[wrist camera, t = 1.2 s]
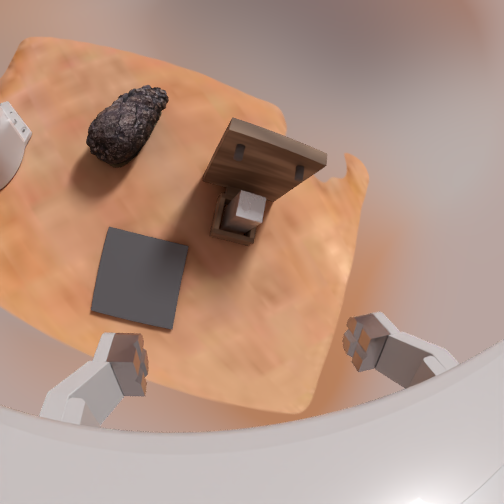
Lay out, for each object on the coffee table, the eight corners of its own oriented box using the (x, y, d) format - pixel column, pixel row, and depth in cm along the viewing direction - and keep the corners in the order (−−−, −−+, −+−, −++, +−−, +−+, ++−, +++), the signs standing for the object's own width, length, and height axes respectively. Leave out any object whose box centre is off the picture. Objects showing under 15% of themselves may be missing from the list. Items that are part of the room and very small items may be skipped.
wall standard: (265, 250, 51) (320, 231, 34) (190, 231, 47) (210, 199, 30) (275, 192, 53) (327, 153, 36) (205, 171, 49) (232, 117, 32)
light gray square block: (241, 235, 50) (261, 222, 40) (219, 229, 49) (235, 215, 39) (245, 214, 51) (266, 197, 41) (224, 208, 49) (241, 190, 40)
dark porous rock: (173, 107, 48) (180, 75, 39) (129, 180, 44) (125, 155, 35) (130, 91, 46) (130, 59, 36) (83, 160, 41) (70, 133, 32)
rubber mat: (92, 309, 39) (91, 310, 39) (109, 227, 42) (109, 226, 41) (172, 328, 44) (172, 329, 43) (188, 246, 46) (188, 246, 46)
